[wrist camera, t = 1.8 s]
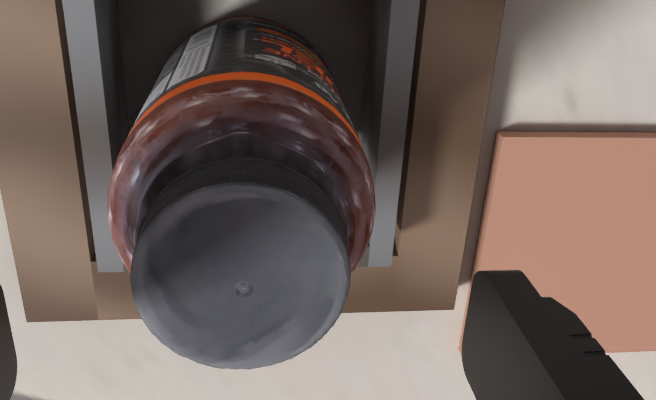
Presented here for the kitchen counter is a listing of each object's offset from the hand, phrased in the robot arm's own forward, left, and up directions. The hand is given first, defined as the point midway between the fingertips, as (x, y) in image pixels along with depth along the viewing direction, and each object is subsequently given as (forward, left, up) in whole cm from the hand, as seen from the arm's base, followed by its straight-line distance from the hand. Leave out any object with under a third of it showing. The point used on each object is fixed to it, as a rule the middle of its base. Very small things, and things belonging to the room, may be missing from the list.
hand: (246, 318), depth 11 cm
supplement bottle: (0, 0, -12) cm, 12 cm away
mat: (+6, +14, -12) cm, 19 cm away
